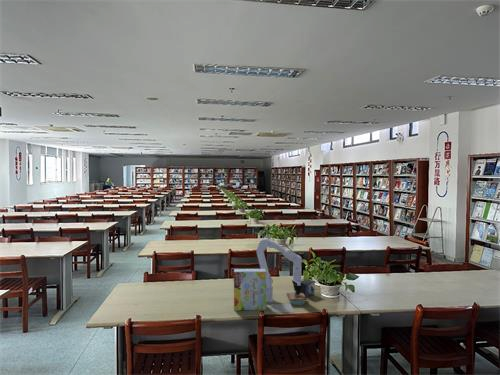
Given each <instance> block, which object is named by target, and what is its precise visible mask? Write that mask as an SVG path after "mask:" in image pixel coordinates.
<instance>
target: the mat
mask: <svg viewBox="0 0 500 375" xmlns="http://www.w3.org/2000/svg"><path fill="white" fill-rule="evenodd" d="M269 305H270V308H271V313H294V309H293V307H292V304H290V303H270V304H269Z"/></svg>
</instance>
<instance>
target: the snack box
mask: <svg viewBox="0 0 500 375" xmlns="http://www.w3.org/2000/svg"><path fill="white" fill-rule="evenodd" d="M233 310H234V311H266V310H267V302H266V269H261V268H234V269H233Z"/></svg>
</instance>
